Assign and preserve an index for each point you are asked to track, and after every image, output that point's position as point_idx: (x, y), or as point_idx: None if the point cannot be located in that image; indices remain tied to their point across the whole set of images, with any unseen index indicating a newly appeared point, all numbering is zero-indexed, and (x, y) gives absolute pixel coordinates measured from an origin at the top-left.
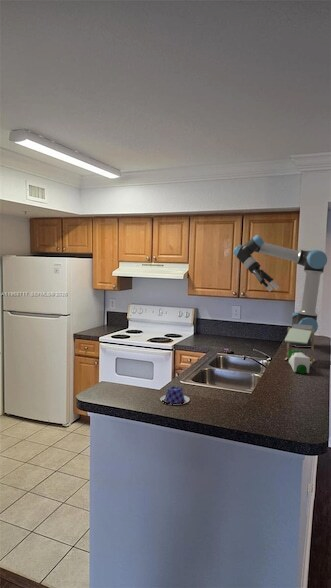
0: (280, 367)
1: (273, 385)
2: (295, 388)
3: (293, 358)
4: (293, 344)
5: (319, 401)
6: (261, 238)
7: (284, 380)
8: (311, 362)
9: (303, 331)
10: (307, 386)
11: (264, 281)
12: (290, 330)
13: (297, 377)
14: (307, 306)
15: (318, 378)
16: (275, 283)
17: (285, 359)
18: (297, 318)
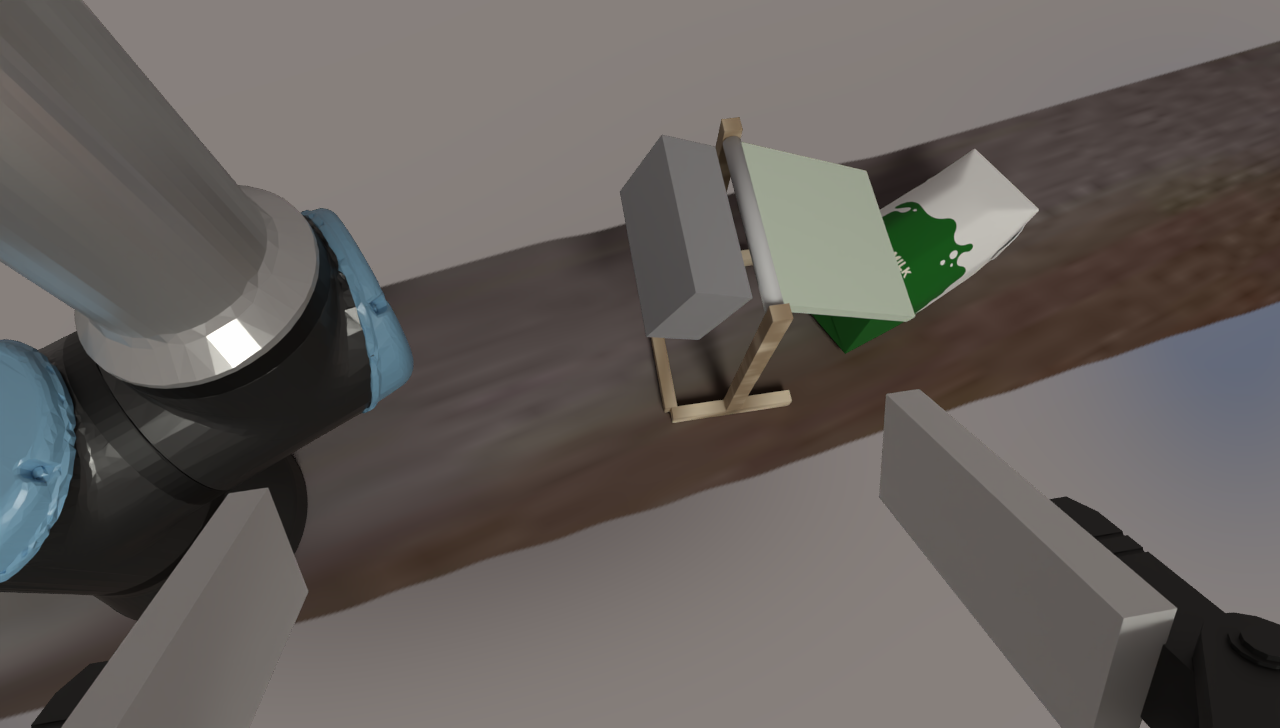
0: (950, 357)
1: (1250, 251)
2: (1193, 171)
3: (1019, 228)
4: (289, 540)
5: (1236, 66)
6: None
7: (1140, 246)
8: (741, 251)
9: (770, 197)
10: (1122, 146)
11: (1216, 637)
12: (802, 295)
13: (1041, 221)
14: (229, 199)
15: (969, 150)
16: (180, 624)
17: (788, 395)
18: (267, 405)
